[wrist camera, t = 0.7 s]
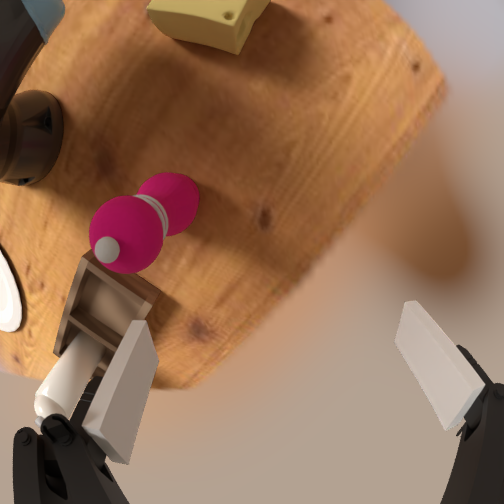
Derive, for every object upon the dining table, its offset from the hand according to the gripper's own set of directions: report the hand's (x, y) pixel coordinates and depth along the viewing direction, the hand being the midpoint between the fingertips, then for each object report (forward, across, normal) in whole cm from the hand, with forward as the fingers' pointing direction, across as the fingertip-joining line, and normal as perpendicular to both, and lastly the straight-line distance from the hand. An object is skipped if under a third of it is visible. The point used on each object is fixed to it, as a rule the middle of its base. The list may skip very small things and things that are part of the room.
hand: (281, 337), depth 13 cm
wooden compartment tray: (+24, -27, -16) cm, 40 cm away
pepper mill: (+25, -10, +3) cm, 27 cm away
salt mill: (+23, -30, -20) cm, 43 cm away
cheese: (+25, -4, +27) cm, 37 cm away
